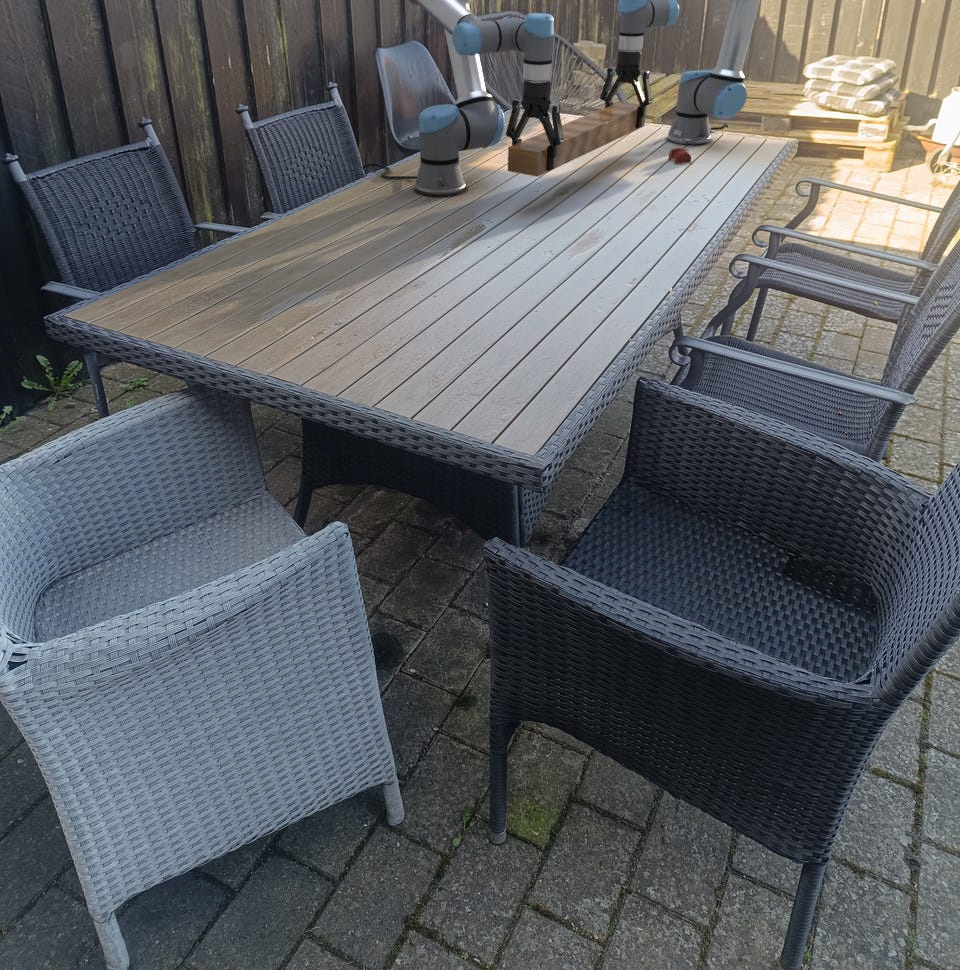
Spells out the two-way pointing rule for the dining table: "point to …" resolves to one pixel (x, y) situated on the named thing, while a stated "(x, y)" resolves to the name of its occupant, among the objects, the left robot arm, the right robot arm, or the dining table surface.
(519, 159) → the wooden beam
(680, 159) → the dark red lumpy piece
